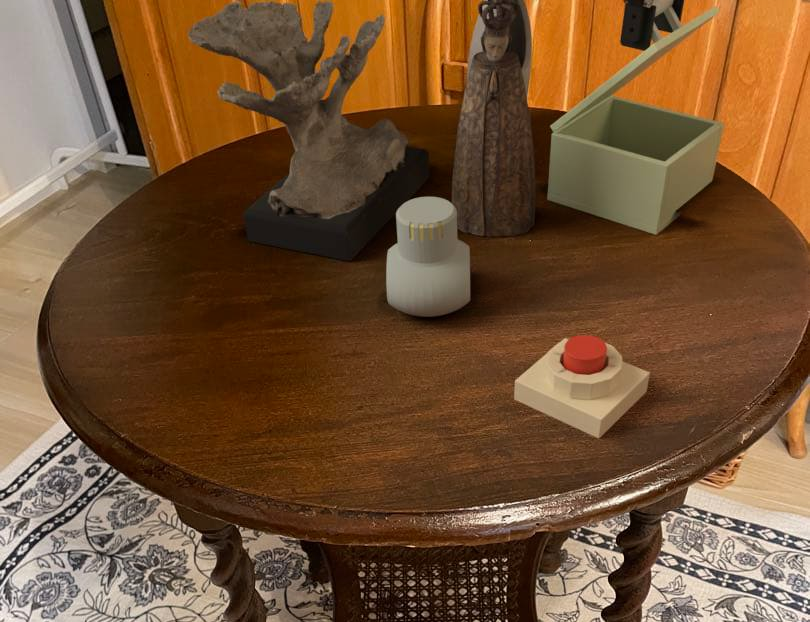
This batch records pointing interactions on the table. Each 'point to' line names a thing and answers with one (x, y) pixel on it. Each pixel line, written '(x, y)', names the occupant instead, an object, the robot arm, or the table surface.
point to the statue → (494, 137)
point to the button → (584, 355)
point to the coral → (315, 131)
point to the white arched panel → (520, 39)
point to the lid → (640, 58)
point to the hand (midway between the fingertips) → (649, 36)
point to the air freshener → (428, 260)
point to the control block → (582, 390)
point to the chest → (632, 162)
